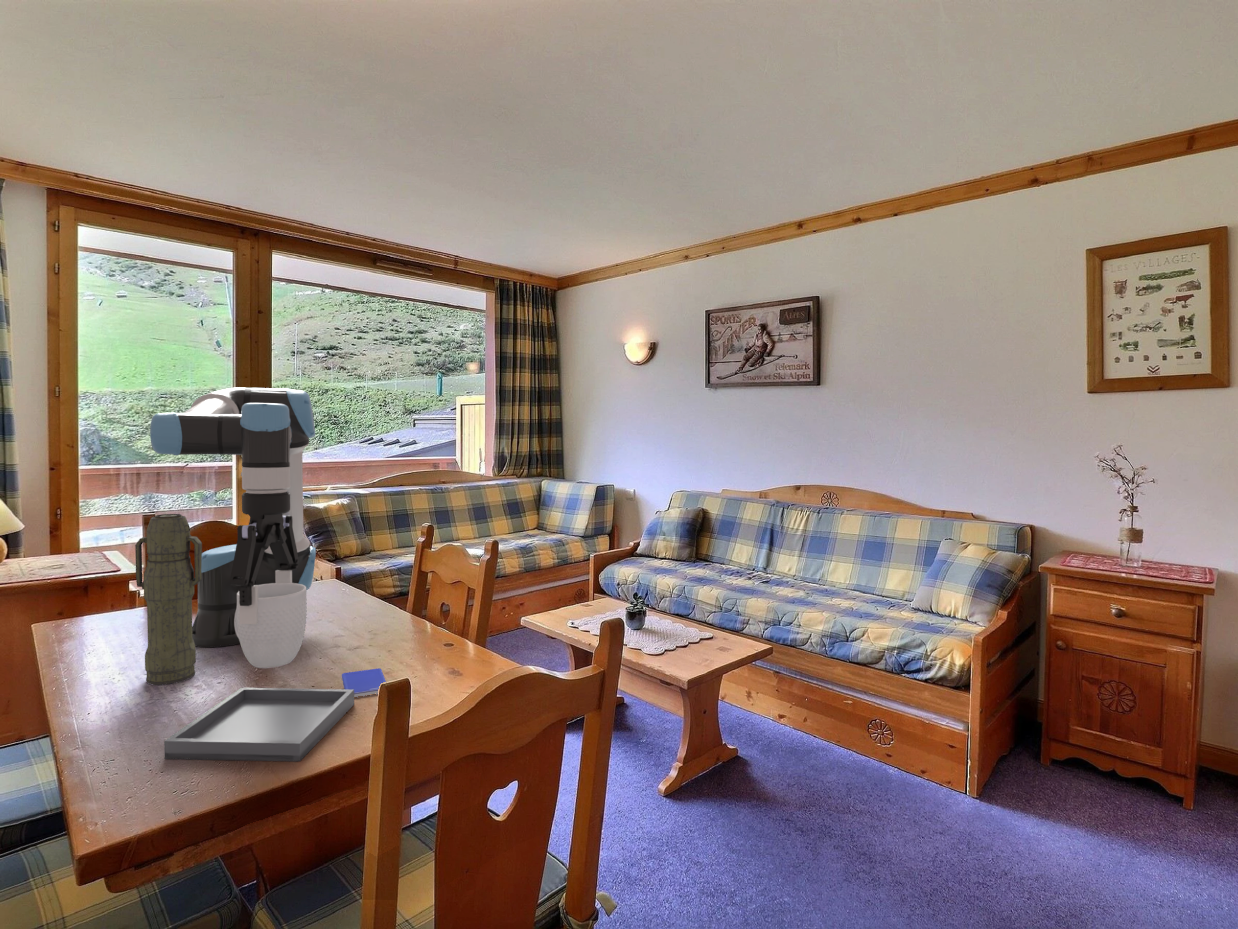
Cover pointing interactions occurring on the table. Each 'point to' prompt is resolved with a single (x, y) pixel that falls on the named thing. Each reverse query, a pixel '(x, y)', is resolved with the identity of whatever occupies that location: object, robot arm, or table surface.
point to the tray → (261, 725)
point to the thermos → (169, 597)
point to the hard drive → (363, 681)
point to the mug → (274, 625)
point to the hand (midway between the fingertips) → (267, 613)
